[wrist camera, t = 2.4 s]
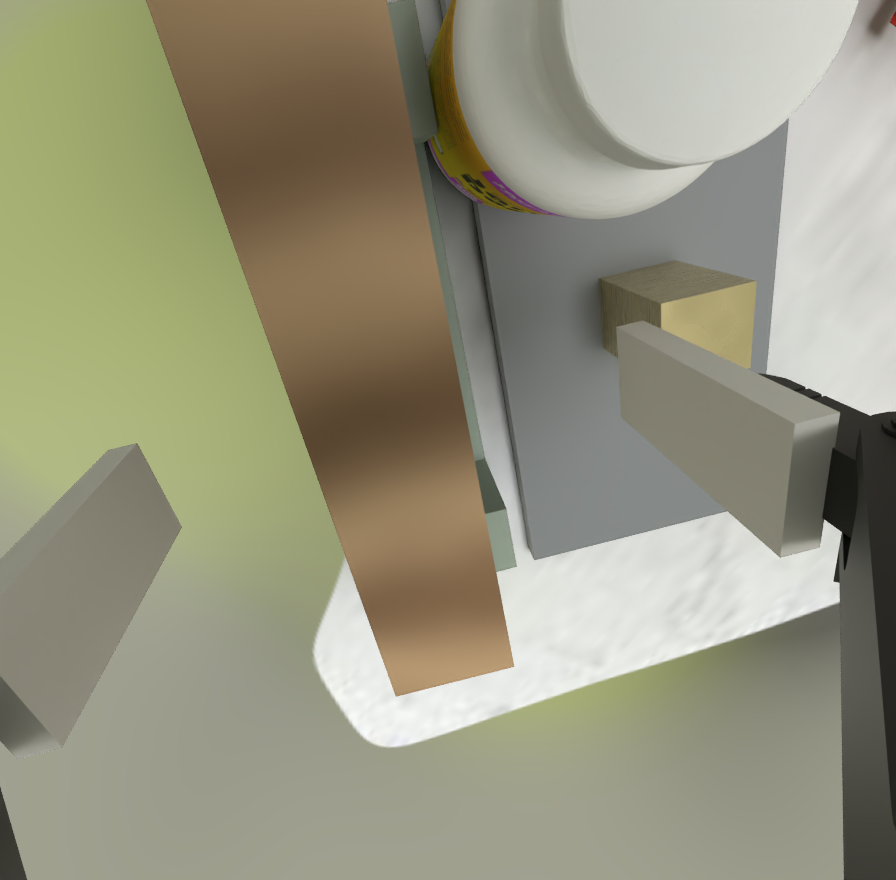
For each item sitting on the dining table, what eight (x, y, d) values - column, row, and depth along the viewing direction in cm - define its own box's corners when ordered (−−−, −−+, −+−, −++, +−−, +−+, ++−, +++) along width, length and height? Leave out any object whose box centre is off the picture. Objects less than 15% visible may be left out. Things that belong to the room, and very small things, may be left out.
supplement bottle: (415, 203, 20) (464, 214, 8) (424, -18, 17) (516, -454, 6) (583, 216, 21) (836, 242, 9) (618, 8, 18) (1038, -322, 7)
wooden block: (598, 278, 21) (661, 303, 17) (675, 260, 21) (757, 280, 17) (603, 348, 23) (662, 389, 18) (675, 331, 23) (750, 368, 18)
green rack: (227, 82, 18) (179, 48, 13) (402, 44, 18) (414, -3, 13) (375, 530, 26) (376, 602, 22) (491, 501, 26) (516, 566, 22)
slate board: (436, -22, 17) (439, -33, 16) (786, -97, 17) (808, -113, 17) (528, 548, 28) (534, 560, 27) (742, 494, 28) (754, 504, 28)
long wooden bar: (172, -36, 12) (106, -109, 9) (359, -72, 13) (356, -156, 9) (391, 625, 22) (395, 696, 19) (493, 599, 23) (514, 666, 20)
